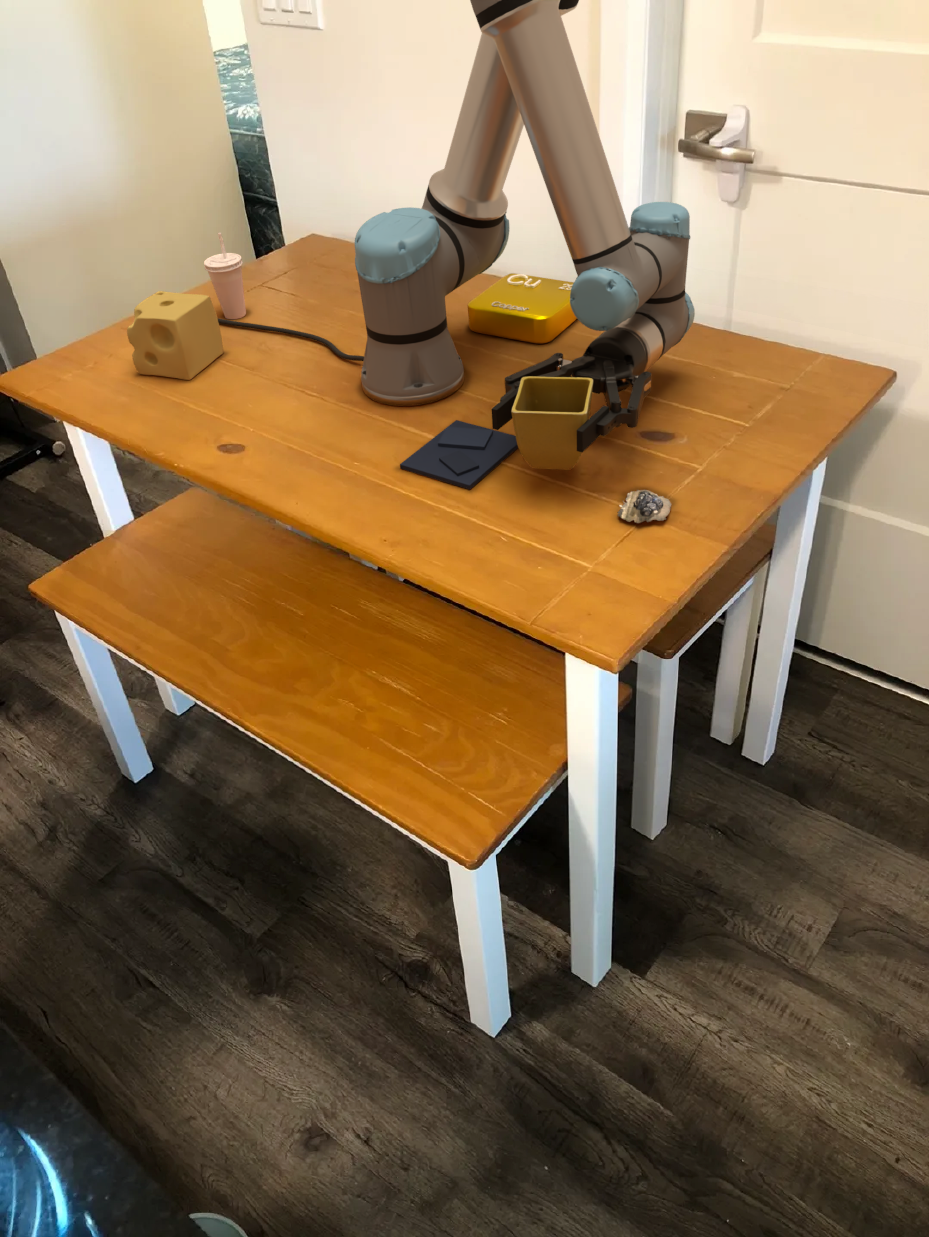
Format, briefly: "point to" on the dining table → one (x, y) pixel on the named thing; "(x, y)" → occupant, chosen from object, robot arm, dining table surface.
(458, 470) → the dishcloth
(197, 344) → the cheese
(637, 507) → the grey mineral rock
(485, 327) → the element tile
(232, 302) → the smoothie
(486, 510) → the dining table surface
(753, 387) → the dining table surface
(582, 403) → the flower pot
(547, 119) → the robot arm
